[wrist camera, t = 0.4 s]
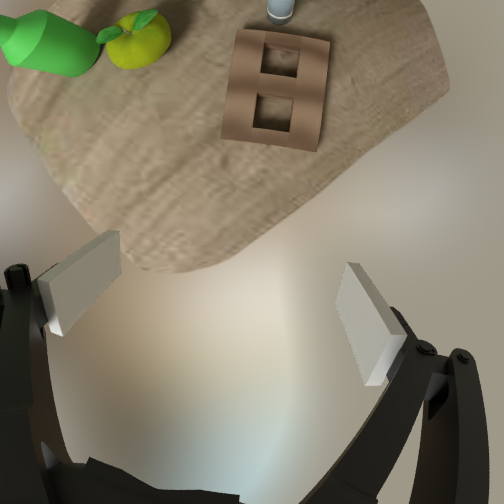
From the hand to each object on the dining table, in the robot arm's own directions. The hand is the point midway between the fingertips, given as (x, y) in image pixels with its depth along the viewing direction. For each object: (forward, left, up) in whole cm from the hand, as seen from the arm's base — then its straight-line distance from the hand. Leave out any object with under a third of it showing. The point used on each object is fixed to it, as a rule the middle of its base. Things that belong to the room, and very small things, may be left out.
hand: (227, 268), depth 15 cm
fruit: (-22, -18, -27) cm, 39 cm away
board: (-16, +2, -27) cm, 31 cm away
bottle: (-23, -32, -27) cm, 48 cm away
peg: (-29, +1, -27) cm, 39 cm away
